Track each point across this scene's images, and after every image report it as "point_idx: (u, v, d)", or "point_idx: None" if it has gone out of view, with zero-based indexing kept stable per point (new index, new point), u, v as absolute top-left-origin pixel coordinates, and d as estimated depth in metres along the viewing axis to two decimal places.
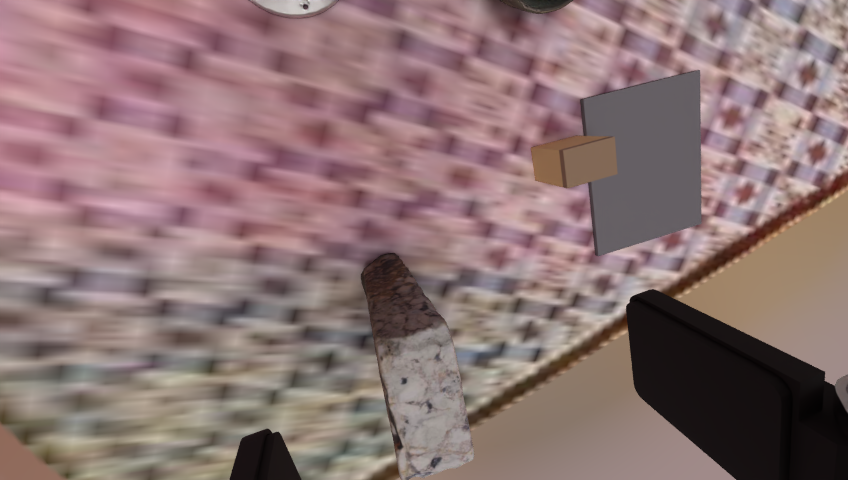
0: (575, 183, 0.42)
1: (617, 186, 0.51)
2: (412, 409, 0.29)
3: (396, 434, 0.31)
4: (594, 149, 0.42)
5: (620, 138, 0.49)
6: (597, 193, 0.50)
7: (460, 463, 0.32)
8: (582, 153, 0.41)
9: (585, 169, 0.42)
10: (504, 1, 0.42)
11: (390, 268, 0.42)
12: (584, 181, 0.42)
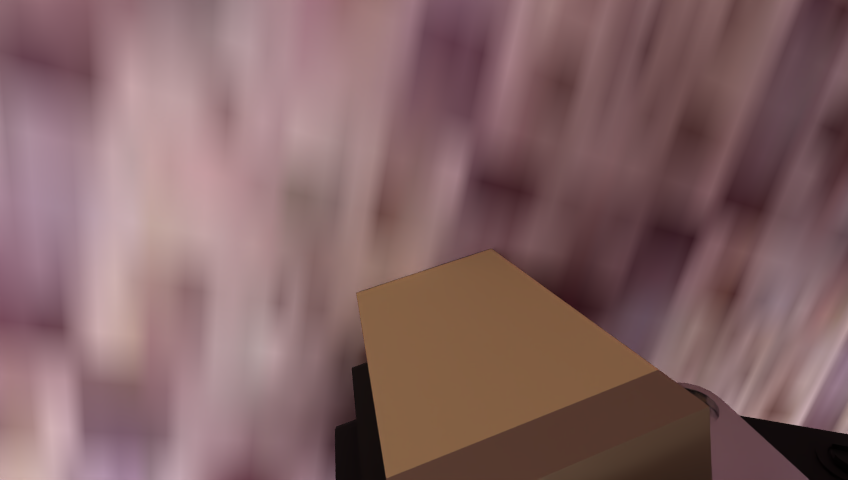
0: None
1: None
2: None
3: None
4: None
5: None
6: None
7: None
8: None
9: None
10: None
11: None
12: None
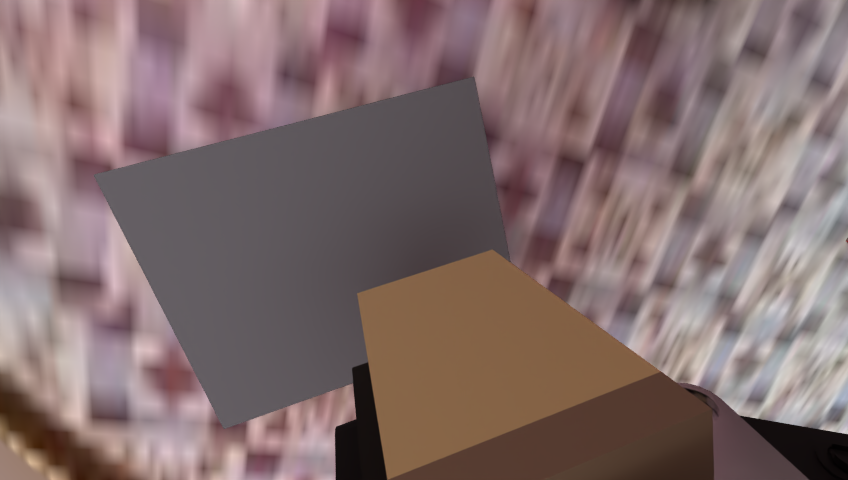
0: None
1: (292, 195, 0.22)
2: None
3: None
4: None
5: (398, 181, 0.23)
6: (270, 144, 0.21)
7: None
8: None
9: None
10: None
11: None
12: None
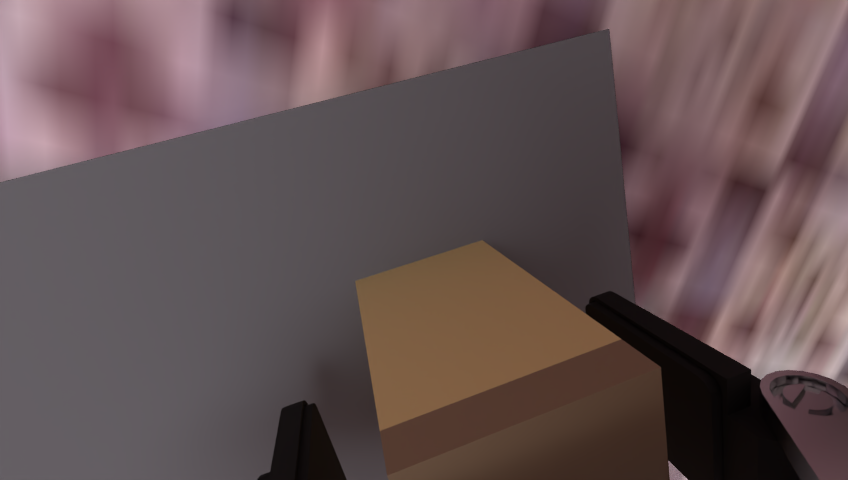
0: None
1: (252, 264, 0.11)
2: None
3: None
4: None
5: (457, 230, 0.12)
6: (203, 164, 0.10)
7: None
8: None
9: None
10: None
11: None
12: None
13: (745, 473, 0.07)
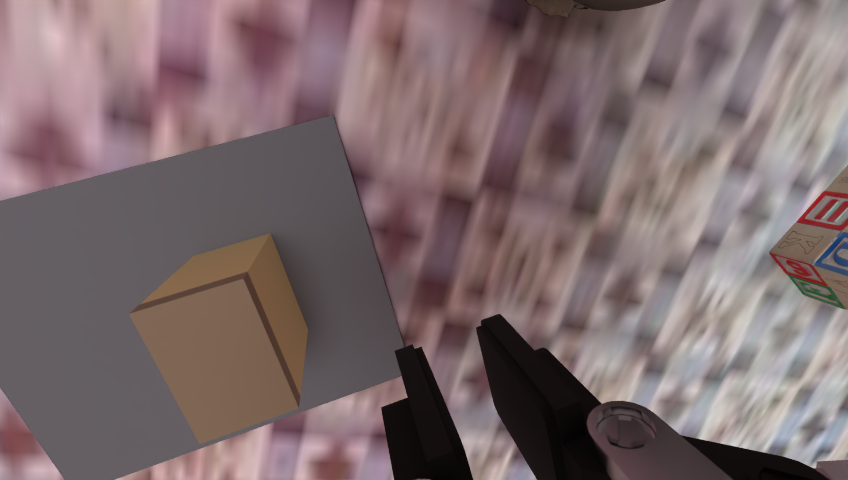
0: (149, 334, 0.14)
1: (130, 246, 0.20)
2: None
3: None
4: (258, 365, 0.16)
5: (254, 227, 0.21)
6: (99, 192, 0.19)
7: None
8: (242, 335, 0.15)
9: (197, 354, 0.15)
10: None
11: None
12: (160, 359, 0.15)
13: None
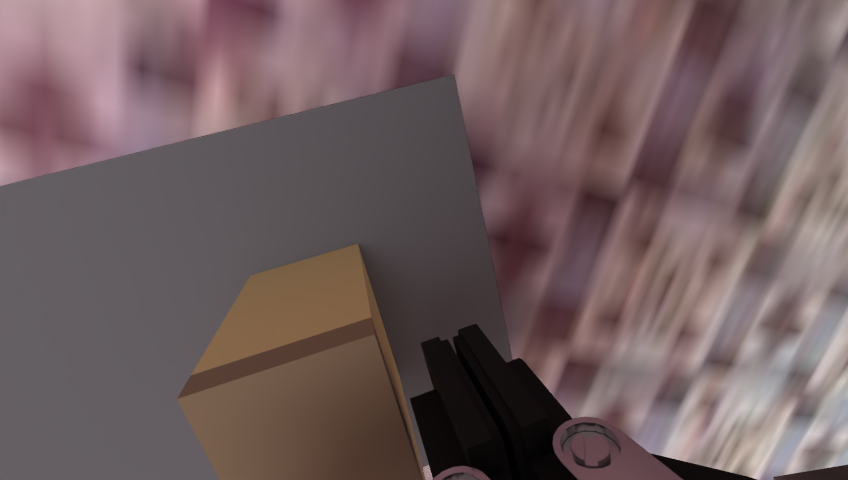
0: (210, 432, 0.08)
1: (162, 261, 0.14)
2: None
3: None
4: (384, 473, 0.09)
5: (336, 235, 0.15)
6: (118, 183, 0.13)
7: None
8: (364, 427, 0.09)
9: (289, 460, 0.09)
10: None
11: None
12: (227, 472, 0.08)
13: None
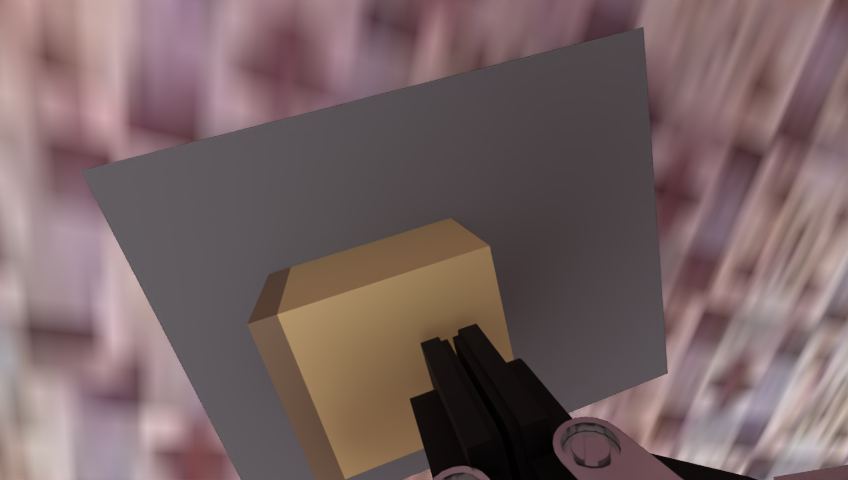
0: None
1: (379, 202, 0.15)
2: None
3: None
4: None
5: (527, 180, 0.16)
6: (351, 125, 0.14)
7: None
8: None
9: None
10: None
11: None
12: None
13: None
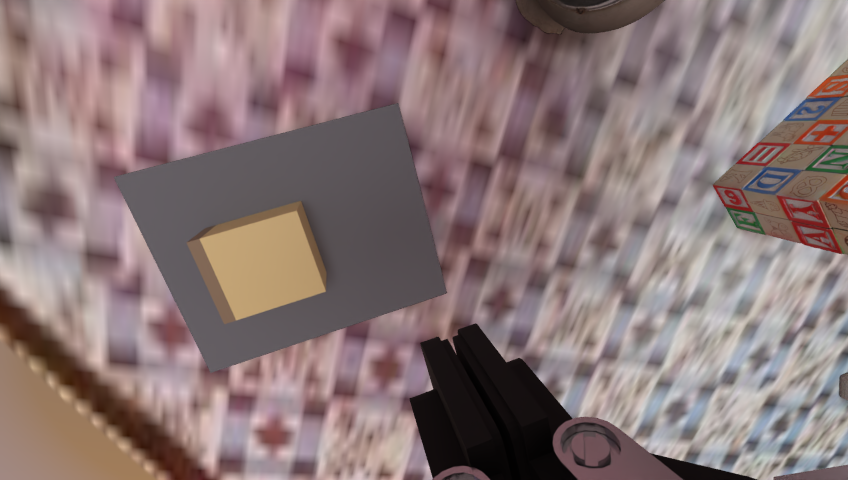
0: None
1: (261, 192, 0.29)
2: None
3: None
4: None
5: (342, 181, 0.30)
6: (244, 154, 0.28)
7: None
8: None
9: None
10: None
11: None
12: None
13: None
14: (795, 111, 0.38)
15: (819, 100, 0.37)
